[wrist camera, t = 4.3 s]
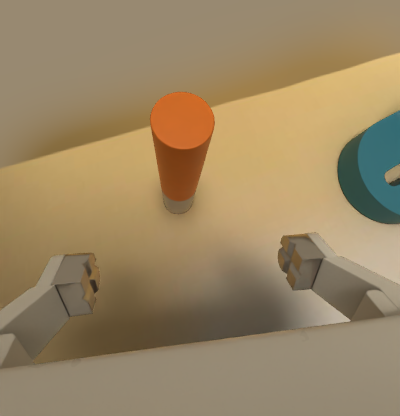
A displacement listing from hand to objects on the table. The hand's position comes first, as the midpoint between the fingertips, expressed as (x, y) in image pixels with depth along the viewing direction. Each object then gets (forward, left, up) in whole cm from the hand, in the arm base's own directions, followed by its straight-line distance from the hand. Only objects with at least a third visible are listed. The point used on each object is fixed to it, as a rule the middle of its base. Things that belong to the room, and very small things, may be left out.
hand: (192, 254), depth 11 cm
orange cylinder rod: (+1, +6, -13) cm, 14 cm away
